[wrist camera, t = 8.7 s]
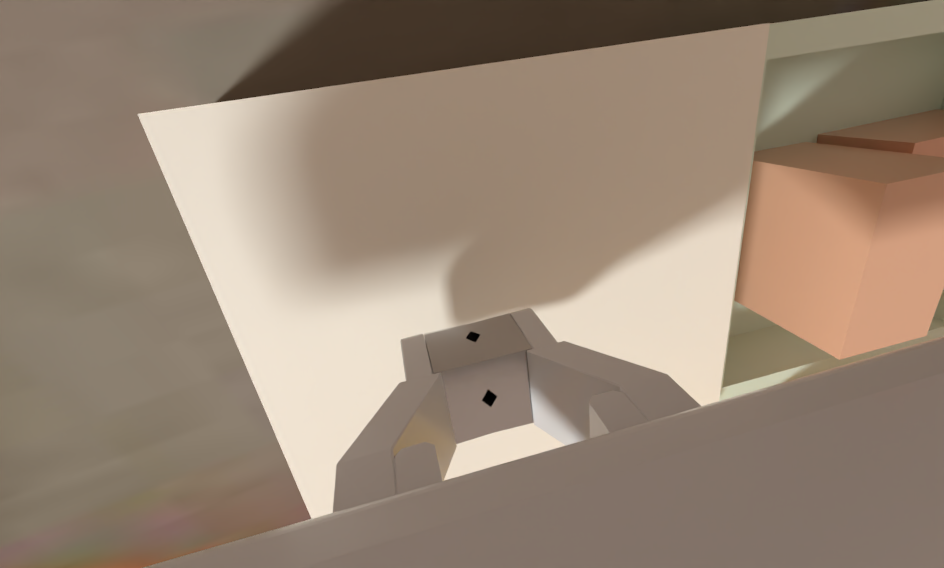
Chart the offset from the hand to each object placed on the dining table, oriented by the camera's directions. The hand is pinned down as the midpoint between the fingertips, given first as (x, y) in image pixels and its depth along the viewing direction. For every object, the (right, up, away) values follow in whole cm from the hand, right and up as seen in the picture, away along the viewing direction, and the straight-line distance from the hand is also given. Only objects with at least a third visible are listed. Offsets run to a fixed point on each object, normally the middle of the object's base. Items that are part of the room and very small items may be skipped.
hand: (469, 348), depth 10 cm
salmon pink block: (+10, +3, +4) cm, 11 cm away
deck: (0, +2, +5) cm, 5 cm away
